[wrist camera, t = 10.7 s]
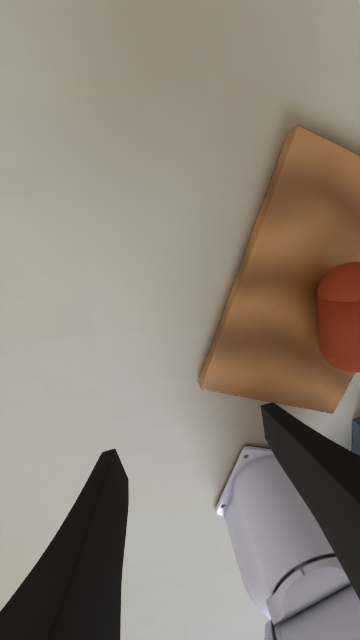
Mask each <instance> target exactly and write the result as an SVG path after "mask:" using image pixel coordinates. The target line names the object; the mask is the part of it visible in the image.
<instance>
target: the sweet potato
mask: <svg viewBox="0 0 360 640" xmlns="http://www.w3.org/2000/svg"><path fill="white" fill-rule="evenodd" d="M317 302H318V331H319V347H320V351H321V354H322V356H323V357H324V359H325V360H326V361H327V362H328V363H329V364H331V365H332V366H333V367H335V368H337V369H340V370H342V371H346V372H360V262H348V263H345V264H341V265H339V266H337V267H335V268H333V269H331V270H330V271H329V272H327V273H326V275H325V276H324V277H323V278H322V280H321V282H320V283H319V286H318V291H317Z"/></svg>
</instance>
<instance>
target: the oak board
mask: <svg viewBox="0 0 360 640" xmlns="http://www.w3.org/2000/svg"><path fill="white" fill-rule="evenodd" d="M348 262H360V156H359V155H357V154H355V153H353V152H351V151H349V150H347V149H345V148H343V147H341V146H339V145H337V144H335V143H333V142H331V141H329V140H327V139H325V138H323V137H321V136H319V135H317V134H315V133H313V132H311V131H309V130H307V129H305V128H303V127H301V126H296V127H295V128H294V129H292V130H291V131H290V132H289V133H288V134H287V136H286V139H285V142H284V145H283V148H282V150H281V153H280V156H279V159H278V161H277V164H276V167H275V170H274V173H273V175H272V178H271V181H270V184H269V186H268V189H267V192H266V195H265V198H264V200H263V203H262V206H261V209H260V212H259V214H258V217H257V220H256V223H255V225H254V228H253V231H252V234H251V237H250V239H249V242H248V245H247V248H246V250H245V253H244V256H243V259H242V262H241V264H240V267H239V270H238V273H237V276H236V278H235V281H234V284H233V287H232V289H231V292H230V295H229V298H228V301H227V303H226V306H225V309H224V312H223V314H222V317H221V320H220V323H219V326H218V328H217V331H216V334H215V337H214V340H213V342H212V345H211V348H210V351H209V353H208V356H207V359H206V362H205V365H204V367H203V370H202V373H201V376H200V378H199V384H200V387H201V389H204V390H210V391H215V392H220V393H226V394H231V395H236V396H242V397H247V398H252V399H258V400H263V401H268V402H274V403H279V404H284V405H290V406H295V407H300V408H305V409H311V410H316V411H321V412H327V413H333V412H334V410H335V409H336V407H337V405H338V403H339V401H340V400H341V398H342V396H343V394H344V392H345V390H346V389H347V387H348V385H349V383H350V381H351V380H352V378H353V376H354V374H355V372H346V371H342V370H340V369H337V368H335V367H333V366H332V365H331V364H329V363H328V362H327V361H326V360H325V359H324V357H323V356H322V354H321V351H320V347H319V331H318V302H317V291H318V286H319V283H320V282H321V280H322V278H323V277H324V276H325V275H326V273H327V272H329V271H330V270H331V269H333V268H335V267H337V266H339V265H341V264H345V263H348Z"/></svg>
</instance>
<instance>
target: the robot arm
mask: <svg viewBox="0 0 360 640" xmlns="http://www.w3.org/2000/svg"><path fill="white" fill-rule="evenodd" d="M261 411H262V418H263V425H264V432H265V438H266V440H267V442H268V444H269V446H270V448H271V449H266V448H258V447H251V446H246V447H244V448H243V449H242V451H241V454H240V456H239V458H238V460H237V462H236V465H235V467H234V469H233V471H232V473H231V476H230V478H229V480H228V482H227V484H226V487H225V489H224V491H223V493H222V495H221V498H220V500H219V502H218V504H217V507H216V509H215V511H216V514H217V515H222V516H224V518H225V521H226V525H227V528H228V532H229V535H230V539H231V542H232V546H233V549H234V553H235V556H236V560H237V563H238V566H239V570H240V573H241V577H242V580H243V583H244V586H245V588H246V590H247V592H248V594H249V596H250V598H251V599H252V601H253V602H254V604H255V605H256V606H257V608H258V609H259V610H260V611H261V612H262V613H263V614H264V615H265V616H266V617H267V618H268V619H270V620H269V621H267V622H266V625H265V640H360V456H359V455H357V454H355V453H353V452H351V451H349V450H347V449H346V448H344V447H342V446H340V445H338V444H337V443H335V442H333V441H331V440H330V439H328V438H326V437H325V436H323V435H321V434H320V433H318V432H316V431H315V430H313V429H312V428H310V427H309V426H307V425H305V424H304V423H302V422H301V421H299V420H298V419H296V418H295V417H293V416H292V415H291V414H289V413H288V412H286V411H285V410H283V409H282V408H281V407H279V406H278V405H276V404H275V403H273V402H272V403H268V404H265V405H262V406H261ZM127 515H128V477H127V475H126V473H125V470H124V468H123V466H122V463H121V461H120V459H119V456H118V454H117V452H116V449H112V450H109V451H105V452H102V454H101V455H100V457H99V459H98V461H97V463H96V465H95V467H94V469H93V471H92V473H91V475H90V476H89V478H88V480H87V482H86V484H85V486H84V488H83V489H82V491H81V493H80V495H79V497H78V498H77V500H76V502H75V504H74V506H73V507H72V509H71V511H70V512H69V514H68V516H67V517H66V519H65V521H64V522H63V524H62V526H61V527H60V529H59V530H58V532H57V534H56V535H55V537H54V538H53V540H52V541H51V543H50V544H49V546H48V547H47V549H46V550H45V552H44V553H43V555H42V556H41V558H40V559H39V561H38V562H37V564H36V565H35V566H34V568H33V569H32V570H31V572H30V573H29V575H28V576H27V577H26V579H25V580H24V581H23V583H22V584H21V585H20V587H19V588H18V589H17V591H16V592H15V593H14V595H13V596H12V597H11V599H10V600H9V601H8V603H7V604H6V605H5V606H4V608H3V609H2V610H1V611H0V640H120V615H121V581H122V567H123V557H124V547H125V536H126V526H127Z"/></svg>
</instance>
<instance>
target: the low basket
mask: <svg viewBox="0 0 360 640" xmlns="http://www.w3.org/2000/svg"><path fill="white" fill-rule="evenodd" d="M352 452H353V453H355V454H357V455H359V456H360V418H357V419H354V420H353V429H352Z"/></svg>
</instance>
